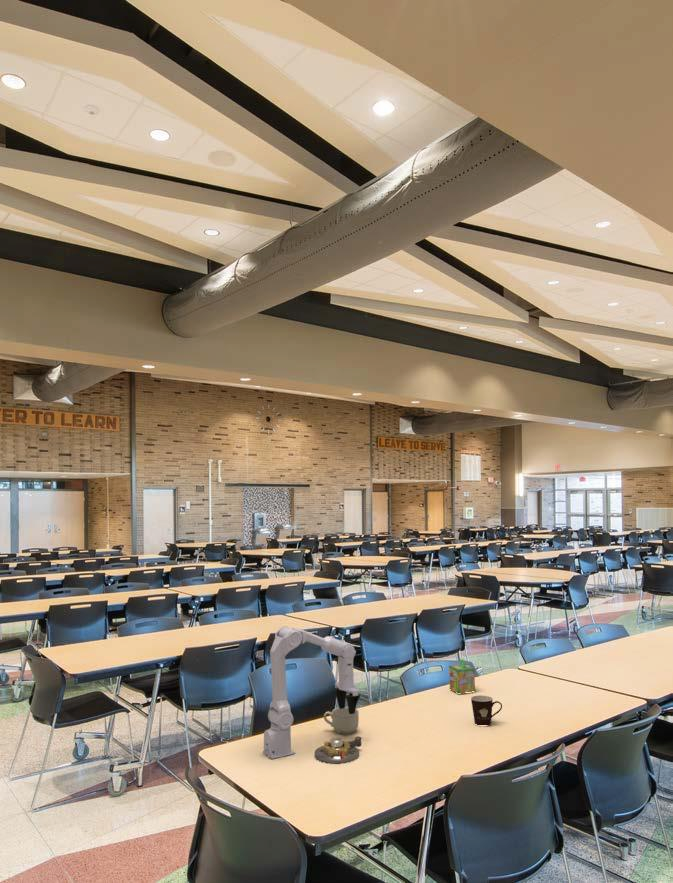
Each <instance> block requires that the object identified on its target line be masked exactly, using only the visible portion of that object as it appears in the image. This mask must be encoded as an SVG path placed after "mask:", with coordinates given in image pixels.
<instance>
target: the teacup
mask: <svg viewBox="0 0 673 883" xmlns="http://www.w3.org/2000/svg"><path fill="white" fill-rule="evenodd" d="M359 713H360V711H359V710H358V709H357V708H356V709H355V713H354V714H349V711H348V706H345V708H343V709H339V707H336V708H334V709H332V711H326V712H325V713H324V714H323V720H324V722H325V723H327V724H328V725H330V727H332V728H333V729H334V731H336V733H338V734H341V735H350V734H353V733H354V732H355V731H356V730H357V729H358V727H359V719H360V718H359ZM327 715H329V716H330V718H331V721H330V720H329V719H328V718H327Z"/></svg>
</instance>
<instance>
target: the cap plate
mask: <svg viewBox="0 0 673 883" xmlns="http://www.w3.org/2000/svg"><path fill="white" fill-rule="evenodd" d="M343 741H344V739H343V738H341V737H333V738H331V739H330V744H331V748H332V746H336V748H341V747H343ZM359 757H360V750H359V747H358V748H357V747H353V748H350V752H349V753H348V754H347V755H344V751H341V752H340V756H338V757H337V756H328V755H326V754H325V753H323V745H322V746H320V747H317V748H316V749H315V750H314V758H315V760H317V761H318V760H319V761H318V762H320V761H321V762H320V763H323V762H325V763H324V764H328V763H330V764H329V765H332V764H333V765H339V764H340V765H342V764H341V763H343V764H347V762H348V763H351V761H352V762H353V761H356V760H357V759H359ZM355 759H356V760H355Z"/></svg>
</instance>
